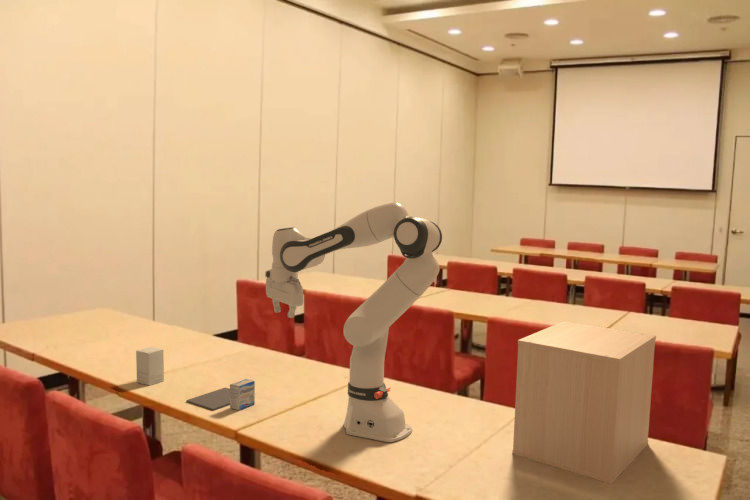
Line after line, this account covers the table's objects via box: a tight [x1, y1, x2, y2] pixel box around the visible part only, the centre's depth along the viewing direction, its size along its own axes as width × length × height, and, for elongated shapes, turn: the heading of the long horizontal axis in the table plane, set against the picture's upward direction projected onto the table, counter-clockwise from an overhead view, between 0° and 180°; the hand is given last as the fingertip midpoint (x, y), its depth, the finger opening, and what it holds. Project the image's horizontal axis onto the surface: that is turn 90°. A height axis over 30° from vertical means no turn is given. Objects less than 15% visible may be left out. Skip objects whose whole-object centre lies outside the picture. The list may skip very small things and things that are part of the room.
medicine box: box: [229, 378, 256, 411], centre depth 224 cm, size 8×4×9 cm, turn 148°
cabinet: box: [511, 320, 657, 485], centre depth 194 cm, size 35×29×34 cm
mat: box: [186, 386, 230, 412], centre depth 231 cm, size 14×18×1 cm
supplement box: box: [135, 346, 165, 386], centre depth 248 cm, size 7×7×13 cm
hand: (283, 314), depth 221 cm, fingers open, 8 cm apart
